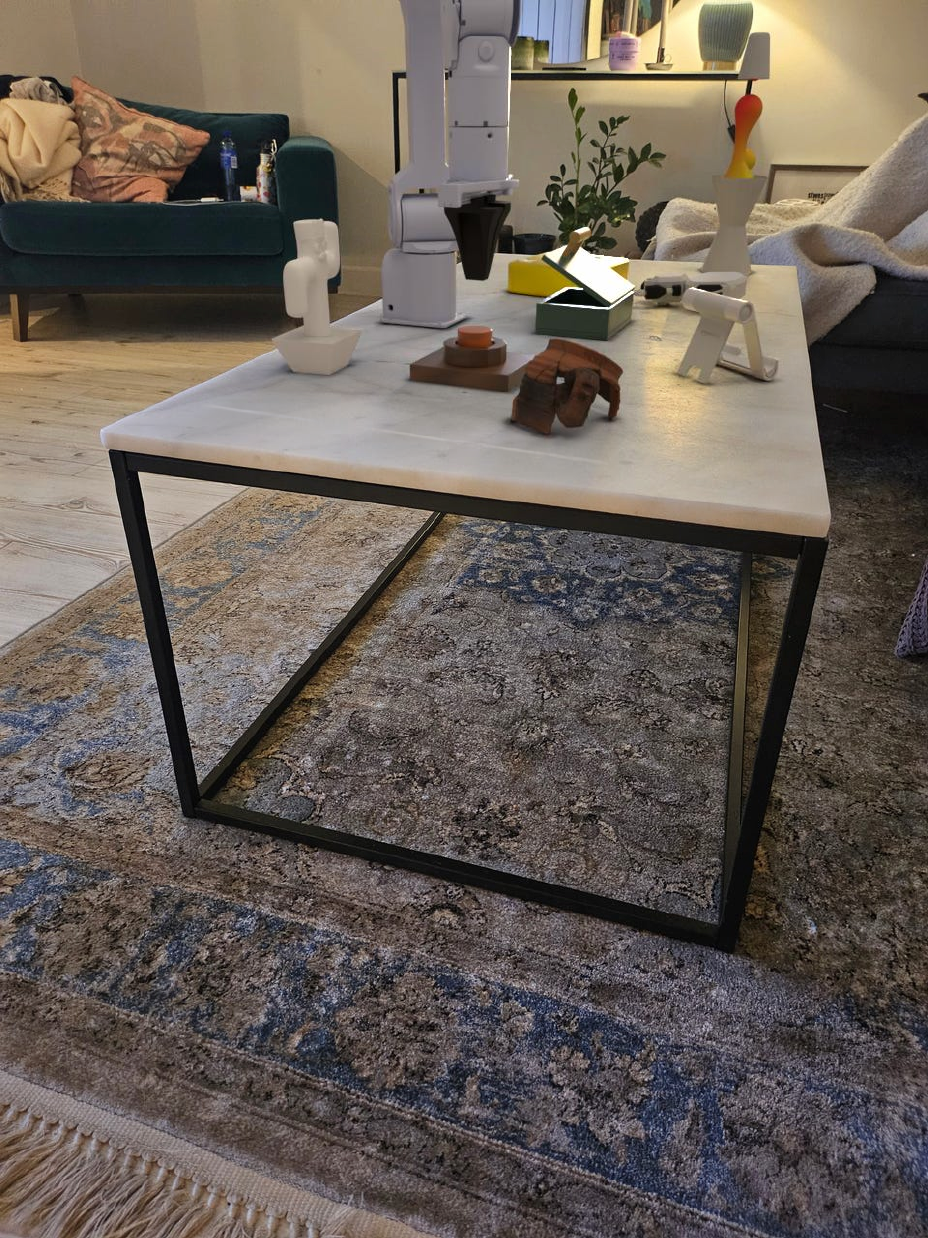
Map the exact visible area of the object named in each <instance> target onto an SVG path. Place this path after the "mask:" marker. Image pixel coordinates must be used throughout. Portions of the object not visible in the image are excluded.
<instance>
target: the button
mask: <svg viewBox="0 0 928 1238" xmlns="http://www.w3.org/2000/svg"><path fill="white" fill-rule="evenodd" d="M457 337H458V345H460V346H464V347H486V346H491V345H492V337H493V328H492V327H489V326H484V325H463V326H460V327H459V328H457Z"/></svg>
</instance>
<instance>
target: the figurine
mask: <svg viewBox="0 0 928 1238" xmlns="http://www.w3.org/2000/svg"><path fill="white" fill-rule="evenodd" d="M292 224H293V230H294V235H295V241H296V251H297V258H294V259H292V260H289V261H287V263H286V264H285V265H284V269H283V277H282V279H283V281H282V282H283V292H284V302H285V311H286V313H287V315H288V316H289V317H291V318H295V319H296V318H297V319H299V318H302V320H303V325H301V326H299V327H296V328H294V329H292V330H289V331H287V332H284V333H282V334H279V335H277V336H274V337H272V338H271V339H270V340H271V341H272V343H273V344H274V346H275V347H276V349H277V351H278V353H280V354H281V356H282V357H283V359H284V360H285V362H286V363H287V365H288V367H289V368H290V369H291V371H292V372H293V373H294V372H295V373H304V374H312V375H323V376H330V375H332V374H334V373H336V372H338V371H340V370H342V369H343V368H345V367H347V366H348V365H349V363H350V361H351V358H352V355H353V353H354V351H355V349H356V346H357V344H358V342H359V340H360V337H361V336H362V333H363V329H355V328H342V327H331V319H330V307H329V306H330V305H329V291H328V280H331V279H333V278H335V277H337V275H338V274H339V272H340V266H341V252H340V251H341V250H340V239H339V237H340V235H339V228H338V225H337V224H336V222H334V221H330V220H324V219H323V218H319V219H302V220H296V221H293V223H292Z"/></svg>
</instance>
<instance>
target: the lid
mask: <svg viewBox="0 0 928 1238" xmlns="http://www.w3.org/2000/svg"><path fill="white" fill-rule="evenodd" d="M591 236H592V230H591V229H590V228H589V227H588V226H584V227H581V228H579V229H576V230H574V231H572V232H570V233H569V237H568V239H569V241H568V243H567V244H566V245H563V246H562V247H558V248H556V249H553V250H552V251H548V252H549V253H547V252H546V253H547V254H544V255H543V257H542V259H541V260H543V261H544V262H545V263H547V264H548V265H549V266H551V267H552V268H554V269H555V270H556V271H558V272H559V273H560V274H562V275H563V276H565V277H566V278H567V279H569V280H570V281H572V282H573V283H574V284H576V285H577V286H578V287H580V288H581V289H583V290H584V291H585V292H587V293H588V294H590V295H591V296H592V297H594V298H595V299H596V300H598V301H599V302H601V303H602V304H603V305H605V306H606V307H608V308H609V307H611V306H612V305H614V304H615V303H617V302H618V301H619V300H621V299H622V298H624V297H625V296H627V295H628V294H629V293H631V292H634V291H635V290H636V286H635V285H634V284H633V283H631V282H630V281H629V280H625V279H624V278H623V277H621V276H620V275H618V274H617V273H616V272H614V271H613V270H611V269H610V268H609V267H607V266H606V265H605V264H603V263H602V262H600V261H599V260H598V259H596V258H595V257H593V256H592V255H593V254H592V255H591V254H590V252H588V251H587V250H585V249H584V248H583V247H582V245H583V244H584V242H585V240H588V239H590V237H591Z"/></svg>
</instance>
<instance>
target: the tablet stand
mask: <svg viewBox="0 0 928 1238" xmlns="http://www.w3.org/2000/svg"><path fill="white" fill-rule="evenodd" d="M681 304H682V307H683V308H684V309H686V310H690V311H693V312H697V313H699V315H700V316H699V317H700V318H699V321H698V323H697V326H696V328H695V331H694V333H693V335H692V337H691V340H690V342H689V344H688V346H687V348H686V351H685V353H684V355H683V358H682V360H681V362H680V364H679V366H678V368H677V374H678V375H680V376H683V377H685V378H686V377H687V375H688V374H689V372H690V370H691V369H692V368H693V367H696V368H699V373H698V376H697V379H696V381H697V382H699V383H700V384H707V383H708V382H709V380H710V378H711V376H712V374H713V372H714V369H715V368H716V366H721V367H726V368H728V369H732V370H734V371H738V372H741V373H744V374H747V375H750V376H752V377H755V378H756V379H759V380H762V381H769V382H770V381H772V380H773V379H775V378H776V376H777V374H778V371H779V358H776V357H773V356H769V355H767V354H763V351H762V346H761V340H760V334H759V327H758V323H757V316H756V312H755V311H756V310H755V307H754V304H753V303H752V302H750V301H747V300H743V299H735V298H731V297H727V296H723V295H719V294H715V293H711V292H707V291H703V290H699V289H695V288H689V289H687V290H686V291H685V292H684V294H683V297H682V300H681ZM735 323H736V324H738V325H739V324H740V325H742V330H743V337H744V340H745V346H746V353H747V356H745V355H742V352H743V351H742V350H743V348H742V347H740V346H737V345H733V344H731V343H727V341H728V339H729V336H730V334H731V332H732V330H733V327H734V325H735Z"/></svg>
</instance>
